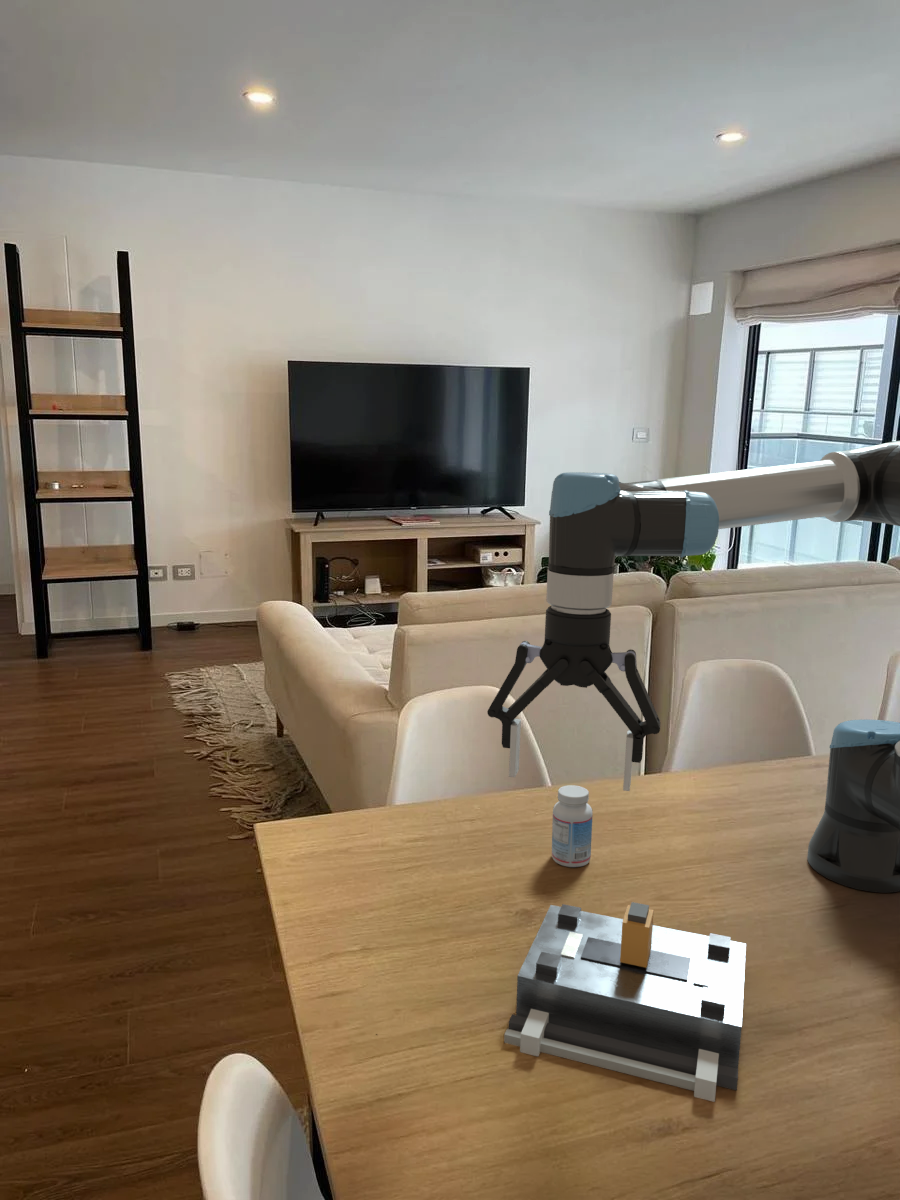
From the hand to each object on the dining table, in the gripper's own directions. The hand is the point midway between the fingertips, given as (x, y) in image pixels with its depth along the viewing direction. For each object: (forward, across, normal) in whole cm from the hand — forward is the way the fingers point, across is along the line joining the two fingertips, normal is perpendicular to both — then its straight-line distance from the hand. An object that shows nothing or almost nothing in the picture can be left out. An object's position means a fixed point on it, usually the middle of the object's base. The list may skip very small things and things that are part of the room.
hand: (569, 780), depth 106 cm
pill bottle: (+24, +2, -26) cm, 36 cm away
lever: (+18, -9, +6) cm, 21 cm away
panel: (+24, -9, +6) cm, 26 cm away
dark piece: (+24, -9, +6) cm, 26 cm away
